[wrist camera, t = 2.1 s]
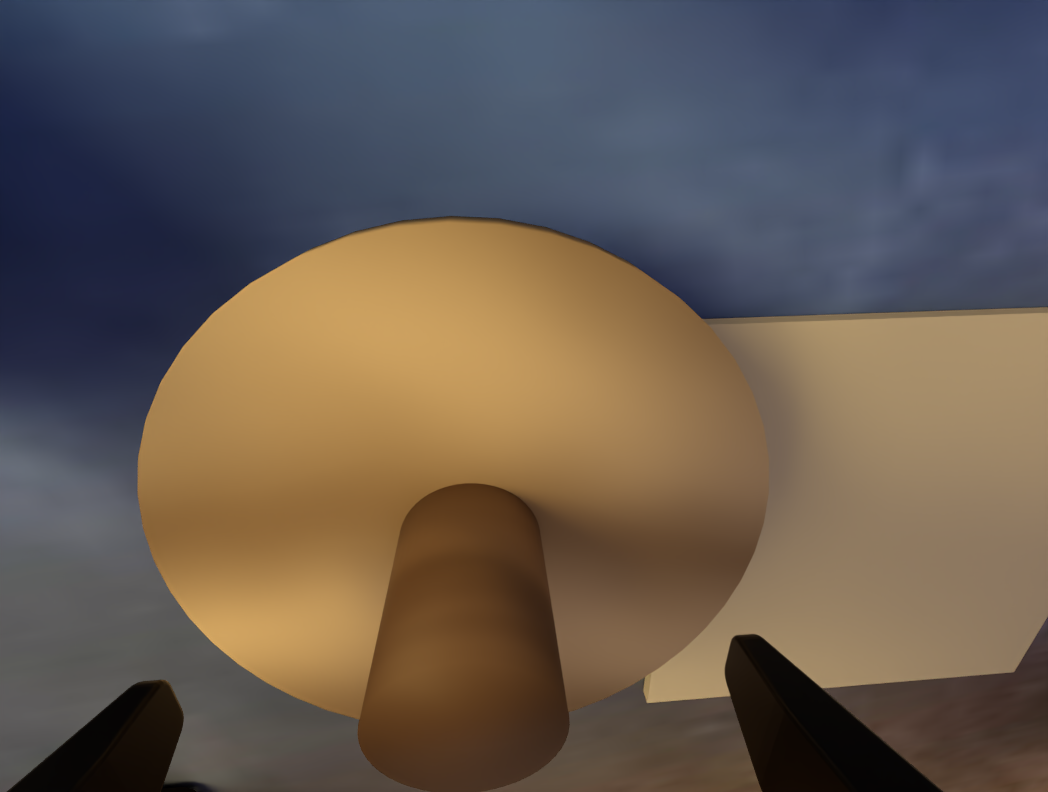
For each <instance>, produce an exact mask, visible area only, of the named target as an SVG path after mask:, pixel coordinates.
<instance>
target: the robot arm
mask: <svg viewBox="0 0 1048 792" xmlns="http://www.w3.org/2000/svg"><path fill="white" fill-rule="evenodd" d="M724 673H725V680H726V684H727V687H728V690H729V693H730V696H731V699H732V702H733V705H734V708H735V712H736V715H737V718H738V721H739V724H740V727H741V730H742V733H743V736H744V739H745V742H746V745H747V748H748V752H749V755H750V758H751V761H752V764H753V767H754V770H755V773H756V776H757V779H758V781H759V784H760V787H761V789H762V792H943V791H942V790H941V789H940V788H938V787H937V786H936V785H935V784H934V783H933V782H931V781H930V780H929V779H928V778H927V777H926V776H924V775H923V774H922V773H921V772H920V771H918V770H917V769H916V768H915V767H914V766H913V765H911V764H910V763H909V762H908V761H907V760H906V759H904V758H903V757H902V756H901V755H900V754H899V753H897V752H896V751H895V750H894V749H893V748H892V747H890V746H889V745H888V744H887V743H886V742H884V741H883V740H882V739H881V738H880V737H879V736H877V735H876V734H875V733H874V732H873V731H872V730H870V729H869V728H868V727H867V726H866V725H865V724H863V723H862V722H861V721H860V720H859V719H858V718H856V717H855V716H854V715H853V714H852V713H851V712H849V711H848V710H847V709H846V708H845V707H843V706H842V705H841V704H840V703H839V702H838V701H836V700H835V699H834V698H833V697H832V696H831V695H829V694H828V693H827V692H826V691H825V690H824V689H822V688H821V687H820V686H819V685H818V684H817V683H815V682H814V681H813V680H812V679H811V678H810V677H808V676H807V675H806V674H805V673H804V672H802V671H801V670H800V669H799V668H798V667H797V666H795V665H794V664H793V663H792V662H791V661H790V660H788V659H787V658H786V657H785V656H784V655H783V654H781V653H780V652H779V651H778V650H777V649H776V648H774V647H773V646H772V645H771V644H770V643H768V642H767V641H766V640H765V639H764V638H762V637H761V636H759V635H757V634H744V635H735V636H734V637H733V638H732V639H731V642H730V646H729V651H728V655H727V659H726V663H725V672H724ZM183 720H184V716H183V711H182V708H181V706H180V704H179V702H178V700H177V698H176V695H175V693H174V691H173V689H172V687H171V685H170V683H169V682H167V681H166V680H153V681H142V682H138V683H136V684H134V685H133V686H131V687H130V688H128V689H127V690H126V691H125V692H124V693H123V694H121V695H120V696H119V697H118V698H117V699H115V700H114V701H113V702H112V703H111V704H110V705H108V706H107V707H106V708H105V709H104V710H103V711H101V712H100V713H99V714H98V715H97V716H95V717H94V718H93V719H92V720H91V721H90V722H88V723H87V724H86V725H85V726H84V727H83V728H81V729H80V730H79V731H78V732H77V733H75V734H74V735H73V736H72V737H71V738H70V739H68V740H67V741H66V742H65V743H64V744H63V745H61V746H60V747H59V748H58V749H57V750H55V751H54V752H53V753H52V754H51V755H50V756H48V757H47V758H46V759H45V760H44V761H42V762H41V763H40V764H39V765H38V766H37V767H35V768H34V769H33V770H32V771H31V772H30V773H28V774H27V775H26V776H25V777H24V778H22V779H21V780H20V781H19V782H18V783H17V784H15V785H14V786H13V787H12V788H11V789H10V790H8V791H7V792H196V791H195V790H193V789H191V788H188V787H175V788H164V789H162V787H163V784H164V781H165V778H166V775H167V772H168V769H169V766H170V763H171V760H172V757H173V754H174V751H175V749H176V746H177V743H178V740H179V737H180V734H181V731H182V727H183Z"/></svg>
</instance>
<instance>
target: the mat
mask: <svg viewBox="0 0 1048 792" xmlns="http://www.w3.org/2000/svg"><path fill="white" fill-rule="evenodd" d="M702 320H703V321H705V322H706V323H707V324H708V325H709V326H710V327H711V328H712V330H713V331H714V332H715V334H716V335H717V336H718V338H719V339H720V340H721V342H722V343H723V344H724V345H725V347H726V348H727V349H728V351H729V352H730V353H731V355H732V356H733V357H734V359H735V360H736V362H737V364H738V366H739V368H740V370H741V371H742V373H743V375H744V377H745V379H746V381H747V383H748V385H749V387H750V389H751V390H752V392H753V395H754V398H755V401H756V404H757V407H758V410H759V413H760V416H761V419H762V422H763V425H764V430H765V437H766V443H767V449H768V456H769V495H768V501H767V507H766V513H765V519H764V524H763V527H762V530H761V534H760V537H759V540H758V543H757V546H756V549H755V552H754V554H753V557H752V559H751V561H750V563H749V565H748V567H747V569H746V571H745V573H744V575H743V577H742V579H741V581H740V583H739V584H738V586H737V587H736V589H735V590H734V592H733V593H732V595H731V596H730V598H729V599H728V601H727V603H726V604H725V606H724V607H723V608H722V609H721V610H720V612H719V613H718V614H717V615H716V616H715V618H714V619H713V620H712V621H711V622H710V623H709V625H708V626H707V627H706V628H705V629H704V630H703V631H702V632H701V633H700V634H699V635H698V636H697V637H696V638H695V639H694V640H693V641H692V642H691V643H690V644H688V645H687V646H686V647H685V648H684V649H683V650H682V651H681V652H679V653H678V654H677V655H675V656H674V657H673V658H672V659H670V660H669V661H668V662H666V663H665V664H664V665H662V666H661V667H660V668H658V669H657V670H655V671H654V672H652V673H650V674H649V675H647V676H646V677H645V682H644V689H643V691H644V694H645V698H646V701H647V703H653V702H664V701H676V700H688V699H700V698H712V697H724V696H730V693H729V690H728V687H727V684H726V680H725V673H724V672H725V663H726V659H727V655H728V651H729V646H730V642H731V639H732V638H733V637H734V636H735V635H744V634H757V635H759V636H761V637H762V638H764V639H765V640H766V641H767V642H768V643H770V644H771V645H772V646H773V647H774V648H776V649H777V650H778V651H779V652H780V653H781V654H783V655H784V656H785V657H786V658H787V659H788V660H790V661H791V662H792V663H793V664H794V665H795V666H797V667H798V668H799V669H800V670H801V671H802V672H804V673H805V674H806V675H807V676H808V677H810V678H811V679H812V680H813V681H814V682H815V683H817V684H818V685H819V686H820V687H821V688H831V687H843V686H855V685H867V684H879V683H891V682H903V681H915V680H926V679H938V678H950V677H962V676H974V675H986V674H998V673H1010V672H1014V671H1015V670H1016V668H1017V666H1018V665H1019V663H1020V661H1021V660H1022V658H1023V656H1024V655H1025V653H1026V651H1027V650H1028V648H1029V647H1030V645H1031V643H1032V642H1033V640H1034V638H1035V637H1036V635H1037V633H1038V632H1039V630H1040V628H1041V627H1042V625H1043V624H1044V622H1045V620H1046V619H1047V617H1048V307H1037V308H1008V309H979V310H950V311H921V312H892V313H864V314H835V315H806V316H777V317H748V318H719V319H702Z"/></svg>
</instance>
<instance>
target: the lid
mask: <svg viewBox="0 0 1048 792" xmlns="http://www.w3.org/2000/svg"><path fill="white" fill-rule="evenodd" d="M768 495H769V456H768V449H767V443H766V437H765V430H764V425H763V422H762V419H761V416H760V413H759V410H758V407H757V404H756V401H755V398H754V395H753V392H752V390H751V389H750V387H749V385H748V383H747V381H746V379H745V377H744V375H743V373H742V371H741V370H740V368H739V366H738V364H737V362H736V360H735V359H734V357H733V356H732V355H731V353H730V352H729V351H728V349H727V348H726V347H725V345H724V344H723V343H722V342H721V340H720V339H719V338H718V336H717V335H716V334H715V332H714V331H713V330H712V328H711V327H710V326H709V325H708V324H707V323H706V322H705V321H703V320H702V319H701V318H700V317H699V316H698V315H697V314H696V313H695V312H694V311H693V310H692V309H691V308H690V307H689V306H688V305H687V304H686V303H685V302H684V301H683V300H682V299H680V298H679V297H678V296H676V295H675V294H674V293H672V292H671V291H669V290H668V289H667V288H665V287H664V286H662V285H661V284H660V283H658V282H657V281H655V280H654V279H652V278H651V277H650V276H648V275H647V274H645V273H644V272H642V271H641V270H640V269H638V268H637V267H635V266H634V265H632V264H631V263H630V262H628V261H626V260H624V259H622V258H620V257H618V256H616V255H614V254H612V253H610V252H608V251H606V250H604V249H602V248H600V247H598V246H596V245H594V244H592V243H590V242H588V241H585V240H582V239H579V238H576V237H573V236H570V235H567V234H564V233H561V232H559V231H556V230H553V229H550V228H547V227H542V226H537V225H532V224H526V223H521V222H516V221H510V220H505V219H500V218H481V217H460V216H446V217H435V218H424V219H413V220H402V221H398V222H394V223H389V224H385V225H381V226H376V227H372V228H368V229H363V230H359V231H355V232H353V233H350V234H348V235H345V236H342V237H340V238H337V239H335V240H332V241H330V242H327V243H325V244H322V245H319V246H317V247H314V248H312V249H310V250H308V251H306V252H305V253H303V254H301V255H299V256H297V257H295V258H294V259H292V260H290V261H288V262H287V263H285V264H283V265H281V266H280V267H278V268H276V269H274V270H273V271H271V272H269V273H267V274H266V275H264V276H262V277H260V278H259V279H257V280H255V281H253V282H252V283H250V284H249V285H247V286H246V287H245V288H244V289H242V290H241V291H240V292H239V293H237V294H236V295H235V296H234V297H232V298H231V299H230V300H229V301H227V302H226V303H225V304H224V305H223V306H221V307H220V308H219V309H218V310H216V311H215V312H214V313H213V314H212V315H211V316H210V317H209V318H208V319H207V320H206V321H205V323H204V324H203V325H202V326H201V327H200V328H199V329H198V330H197V332H196V333H195V334H194V335H193V336H192V337H191V338H190V339H189V340H188V342H187V343H186V344H185V345H184V346H183V347H182V349H181V351H180V352H179V354H178V355H177V357H176V359H175V360H174V362H173V363H172V365H171V367H170V368H169V370H168V371H167V373H166V375H165V376H164V378H163V379H162V381H161V383H160V385H159V388H158V390H157V393H156V395H155V398H154V400H153V403H152V405H151V408H150V410H149V413H148V415H147V418H146V421H145V426H144V431H143V436H142V441H141V446H140V451H139V456H138V499H139V505H140V511H141V517H142V524H143V529H144V532H145V535H146V538H147V541H148V544H149V547H150V550H151V553H152V556H153V559H154V561H155V563H156V565H157V567H158V569H159V571H160V573H161V575H162V577H163V579H164V581H165V582H166V584H167V586H168V588H169V590H170V592H171V593H172V595H173V596H174V597H175V599H176V600H177V601H178V603H179V604H180V606H181V607H182V608H183V610H184V611H185V613H186V614H187V615H188V617H189V618H190V619H191V620H192V621H193V622H194V623H195V625H196V626H197V627H198V628H199V629H200V630H201V631H202V632H203V633H204V634H205V635H206V636H207V637H208V638H209V639H210V640H211V641H212V643H214V644H215V645H216V646H217V647H218V648H220V649H221V650H222V651H223V652H224V653H226V654H227V655H228V656H229V657H230V658H232V659H233V660H234V661H235V662H236V663H238V664H239V665H241V666H242V667H244V668H245V669H247V670H248V671H250V672H251V673H253V674H254V675H256V676H257V677H259V678H260V679H262V680H263V681H265V682H267V683H268V684H270V685H272V686H274V687H276V688H278V689H280V690H282V691H284V692H286V693H288V694H290V695H292V696H294V697H296V698H298V699H301V700H303V701H306V702H308V703H311V704H313V705H316V706H318V707H320V708H323V709H325V710H329V711H332V712H335V713H339V714H342V715H346V716H349V717H352V718H356V719H360V720H359V725H358V740H359V744H360V747H361V750H362V752H363V753H364V755H365V757H366V758H367V760H368V761H369V762H370V763H371V764H372V765H373V766H374V767H375V768H376V769H377V770H379V771H380V772H381V773H383V774H384V775H386V776H387V777H389V778H391V779H393V780H395V781H397V782H399V783H401V784H404V785H407V786H410V787H413V788H417V789H421V790H426V791H432V792H480V791H486V790H491V789H496V788H499V787H503V786H506V785H509V784H512V783H515V782H517V781H520V780H522V779H524V778H526V777H528V776H530V775H532V774H533V773H535V772H537V771H538V770H540V769H541V768H542V767H544V766H545V765H546V764H548V763H549V762H550V761H551V760H552V759H553V758H554V757H555V756H556V755H557V753H558V752H559V751H560V750H561V748H562V746H563V744H564V743H565V741H566V738H567V735H568V732H569V725H570V724H569V713H568V712H570V711H574V710H577V709H579V708H582V707H584V706H587V705H589V704H592V703H595V702H597V701H600V700H602V699H605V698H607V697H609V696H611V695H613V694H615V693H617V692H619V691H621V690H623V689H625V688H627V687H629V686H631V685H633V684H634V683H636V682H638V681H639V680H641V679H642V678H644V677H646V676H647V675H649V674H650V673H652V672H654V671H655V670H657V669H658V668H660V667H661V666H662V665H664V664H665V663H666V662H668V661H669V660H670V659H672V658H673V657H674V656H675V655H677V654H678V653H679V652H681V651H682V650H683V649H684V648H685V647H686V646H687V645H688V644H690V643H691V642H692V641H693V640H694V639H695V638H696V637H697V636H698V635H699V634H700V633H701V632H702V631H703V630H704V629H705V628H706V627H707V626H708V625H709V623H710V622H711V621H712V620H713V619H714V618H715V616H716V615H717V614H718V613H719V612H720V610H721V609H722V608H723V607H724V606H725V604H726V603H727V601H728V599H729V598H730V596H731V595H732V593H733V592H734V590H735V589H736V587H737V586H738V584H739V583H740V581H741V579H742V577H743V575H744V573H745V571H746V569H747V567H748V565H749V563H750V561H751V559H752V557H753V554H754V552H755V549H756V546H757V543H758V540H759V537H760V534H761V530H762V527H763V524H764V519H765V513H766V507H767V501H768Z"/></svg>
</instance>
